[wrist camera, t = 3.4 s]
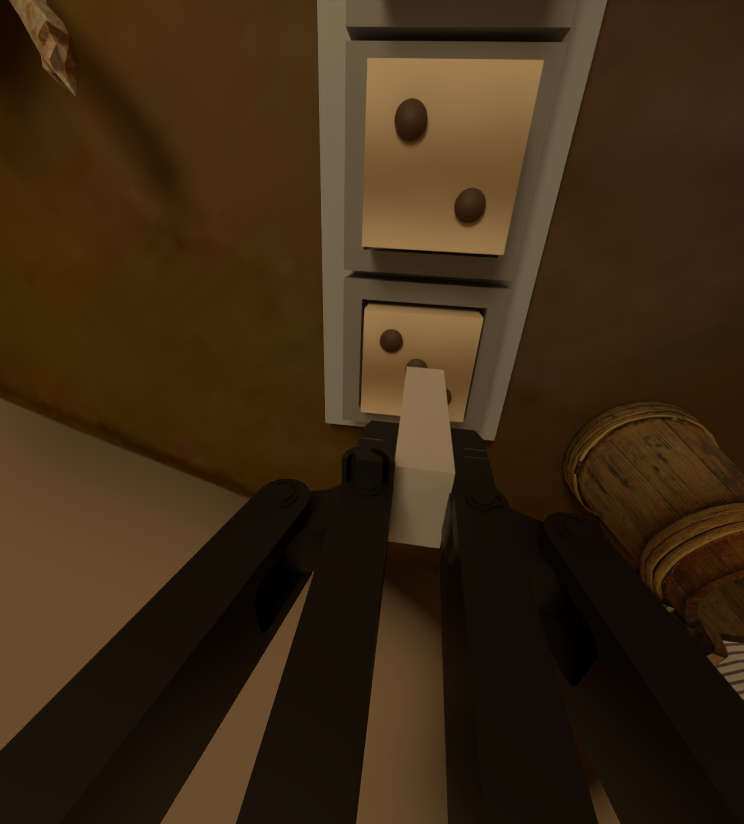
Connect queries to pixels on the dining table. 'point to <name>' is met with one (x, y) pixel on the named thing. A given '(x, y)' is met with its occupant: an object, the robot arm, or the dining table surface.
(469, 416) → the button board
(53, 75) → the pine cone
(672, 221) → the dining table surface
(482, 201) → the tile
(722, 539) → the wooden mug
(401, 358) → the tile
